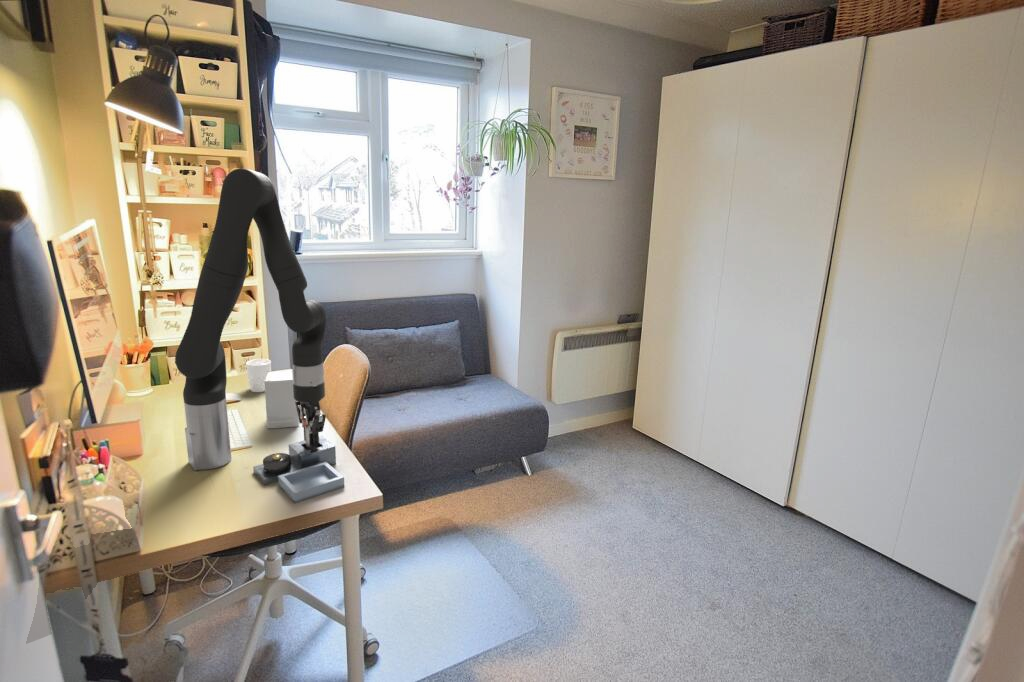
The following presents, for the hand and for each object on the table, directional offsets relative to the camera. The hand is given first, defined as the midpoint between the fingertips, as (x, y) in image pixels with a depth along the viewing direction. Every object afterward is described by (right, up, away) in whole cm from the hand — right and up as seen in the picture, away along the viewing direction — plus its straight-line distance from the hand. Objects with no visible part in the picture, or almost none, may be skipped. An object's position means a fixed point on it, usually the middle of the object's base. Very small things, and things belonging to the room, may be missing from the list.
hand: (311, 442), depth 142 cm
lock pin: (0, -5, +1) cm, 6 cm away
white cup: (-37, +9, +51) cm, 64 cm away
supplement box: (-18, +1, +25) cm, 31 cm away
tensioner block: (-4, -6, -1) cm, 7 cm away
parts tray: (+3, -9, -10) cm, 13 cm away
